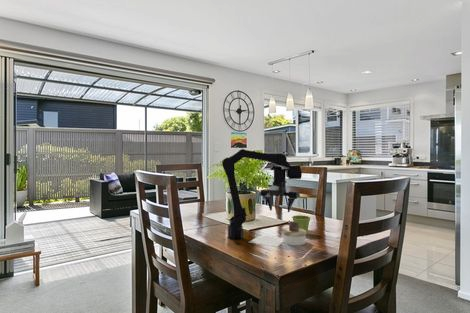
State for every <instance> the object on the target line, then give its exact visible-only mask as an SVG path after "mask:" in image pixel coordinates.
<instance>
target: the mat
mask: <svg viewBox="0 0 470 313" xmlns="http://www.w3.org/2000/svg"><path fill="white" fill-rule="evenodd" d="M248 243H250V244H257V245H262V246H269V247H274V248H275V247H276V248H277V247H279V246H280V245H281V244H284V243H283V237H276V236H270V235H263V234H261V235H259V236H257V237H255V238H253V239H251V240H249V241H248Z"/></svg>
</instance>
